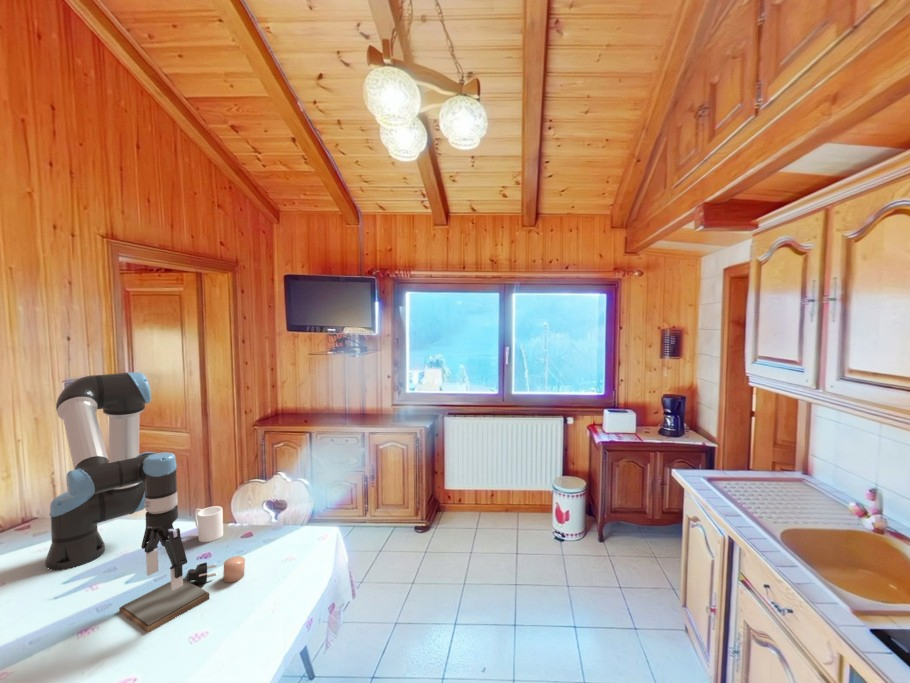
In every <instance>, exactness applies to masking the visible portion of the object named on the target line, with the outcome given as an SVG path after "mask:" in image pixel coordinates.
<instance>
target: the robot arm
mask: <svg viewBox="0 0 910 683" xmlns="http://www.w3.org/2000/svg"><path fill="white" fill-rule="evenodd" d="M151 392H152V391H151V387H150V384H149V380H148V378H147V376H146V374H144V373H142V372H140V371H139V372H129V371H127V372H119V373H117V372H116V373H108V374H97V375H95V374H93V375H86V376H83V377H80V378H78V379H75V380H74V381H72V382H70V383H69V384H68V385H67V386H65V388H64V389H62V390H61V392H60V394H59V395H58V397H57V400H56V404H55V407H56V408H55V409H56V413H57V416H58V417H59V419H61V420H63V424H64V428H65V435H66V438H67V444H68V448H69V451H70V452H69V453H70V456H71V457H70V458H71V462H72V466H73V467H72V468H73V470H70V471H68V472H67V473H66V476H65V477H66V481H65V482H66V490H67V491H65V492H64V493H62V494H61V493H60V494H59V495H58V496H56V497H55V498H53V500H52V501H51V502H50V505H49V506H50V508H49V510H50V512H49V517H50V530H51V531H50V532H51V533H50V534H51V544H50V547H49V550H48V553H47V555H46V557H45V561H44V562H45V563H44V564H45V568H46V567H47V568H49V569H52V570H51V571H63V570H62V569H64V570H69V569H68V568H70V569H74V568H77V566H78V567H80V566H85V565H86V564H88V563H89V564H90V563H92V562H93V561H95V560H97V559H99V558H100V557H101V556H103V555H104V553H105V552H106V545H105V544H106V543H105V542H104V539H103V537H102V536H101V534H100V533H99V531H98V524H99V523H103V522H107V521H110V520H113V519H117V518H121V517H124V516H128V515H132V514H135V513H137V512H141V511H143V510H144V509H145V511H146V512H145V529H144V533H143V538H142V543H141V546H140V547H141V549H142V550H144V553H145V559H146V561H145V562H146V565H145V566H146V575H147V576H151V575H153V574H154V573H157V572H159V553H158V552H159V550H158V548H159V546H158V544H159V543H160V544H161V546H162V547H163V548H165V551H166V554H167V556H168V559H169V562H170V564H171V566H170V567H169V570H170V581H171V590H172V591H173V590H175V589H177V588H179V587H181V586H183V579H184V573H183V572H184V571H183V570H184V569H183V566H184V565H185V564H188V559H187V558H188V557H187V555H186V552H185V551H186V550H185V548H184V544H183V540H182V537H181V530H180V528H179V527H177V528H174V526H173V525H174V524H173V523H175V522H176V521H177V520H178V518H179V509H178V507H179V506H178V503H179V501H178V485H177V484H178V480H177V478H178V476H177V467H178V463H177V460H176V459H177V458H176V455H175V454H174V453H172V452H167V451H165V452H153V451H145V452H142V453H140V430H141V429H140V425H141V424H140V419H141V416H140V415H141V413H142V412H143V411H145V409H146V405H147V404H150V403H151V402H152V393H151ZM97 410H102V412H103V414H105V415H106V416H107V417H108V452H107V448H106V444H105V441H104V439H103V438H104V437H103V435H102V431H101V428H100V425H99V421H98V418H97V414H96V412H97ZM73 567H74V568H73ZM47 568H46V569H47ZM49 569H48V570H49Z"/></svg>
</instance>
